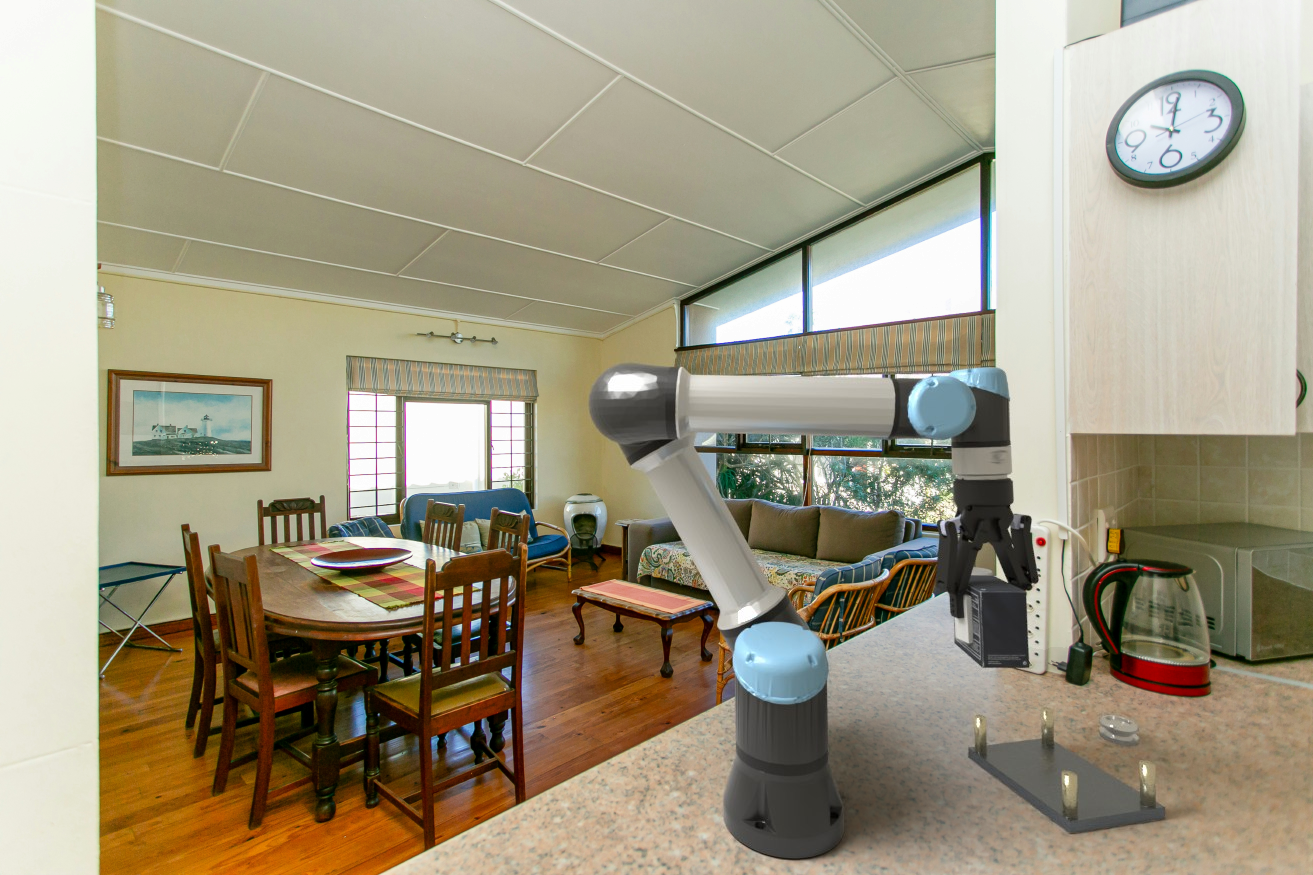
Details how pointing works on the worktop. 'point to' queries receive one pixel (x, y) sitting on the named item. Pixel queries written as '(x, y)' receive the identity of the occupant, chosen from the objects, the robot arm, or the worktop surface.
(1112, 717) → the metal grooved wheel
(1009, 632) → the small box
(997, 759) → the chassis
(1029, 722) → the worktop surface
